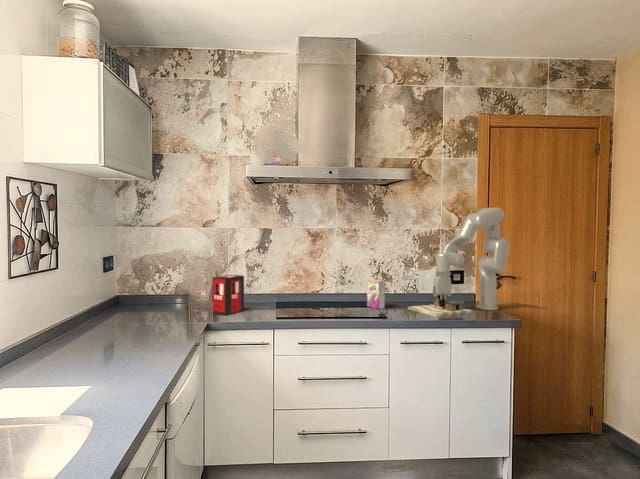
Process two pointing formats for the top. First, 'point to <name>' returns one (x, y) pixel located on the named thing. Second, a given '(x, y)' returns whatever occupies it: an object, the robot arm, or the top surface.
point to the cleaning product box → (228, 294)
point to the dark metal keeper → (457, 304)
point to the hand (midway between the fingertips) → (441, 306)
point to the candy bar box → (376, 294)
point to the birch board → (437, 310)
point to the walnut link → (446, 306)
